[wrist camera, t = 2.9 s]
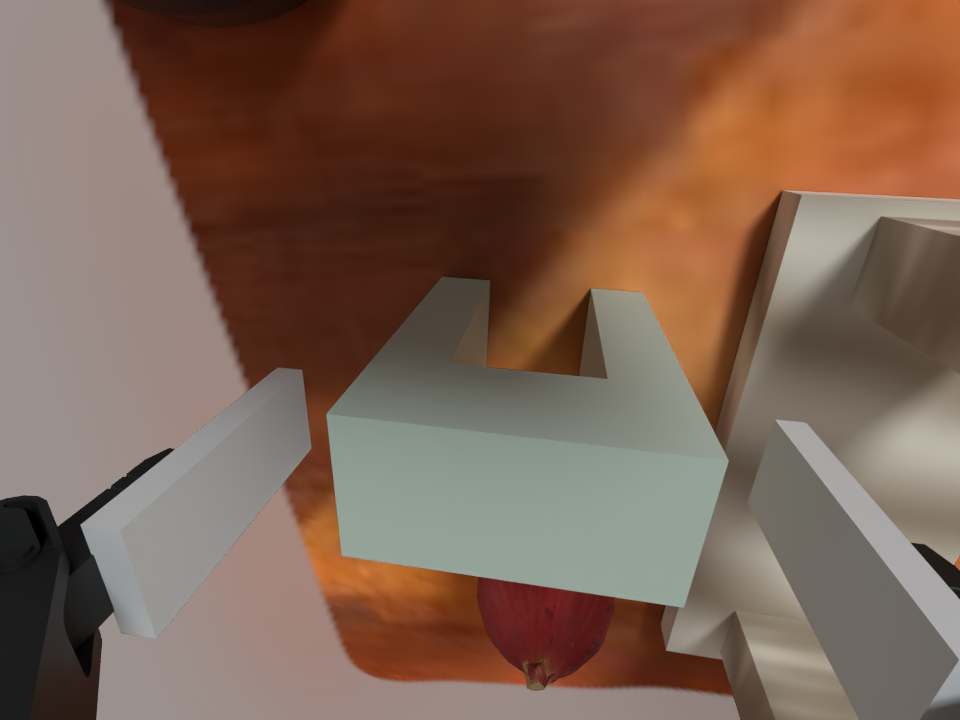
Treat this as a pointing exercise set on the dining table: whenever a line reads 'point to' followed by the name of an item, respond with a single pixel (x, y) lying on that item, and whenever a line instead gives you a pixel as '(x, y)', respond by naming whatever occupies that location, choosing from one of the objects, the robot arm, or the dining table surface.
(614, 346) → the grey u-shaped block
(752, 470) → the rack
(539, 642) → the onion
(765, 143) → the dining table surface
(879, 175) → the dining table surface
